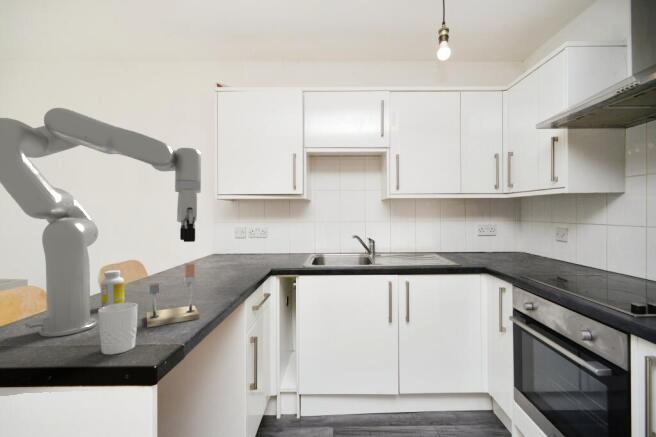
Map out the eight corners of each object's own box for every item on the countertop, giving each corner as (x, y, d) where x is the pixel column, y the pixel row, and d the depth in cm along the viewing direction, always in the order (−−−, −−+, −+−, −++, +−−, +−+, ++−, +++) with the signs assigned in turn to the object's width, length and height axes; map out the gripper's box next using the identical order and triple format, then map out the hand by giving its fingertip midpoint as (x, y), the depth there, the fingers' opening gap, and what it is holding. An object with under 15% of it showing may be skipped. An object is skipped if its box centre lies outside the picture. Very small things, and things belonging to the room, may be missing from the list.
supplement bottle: (126, 304, 114) (126, 269, 114) (121, 309, 107) (120, 272, 107) (105, 306, 112) (104, 270, 112) (98, 311, 105) (97, 273, 105)
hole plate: (147, 327, 89) (147, 321, 89) (146, 316, 99) (146, 311, 99) (199, 318, 96) (199, 313, 96) (194, 309, 106) (194, 304, 106)
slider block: (185, 311, 98) (185, 264, 98) (184, 308, 101) (183, 263, 101) (195, 309, 99) (195, 264, 99) (194, 306, 102) (193, 262, 102)
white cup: (124, 340, 80) (123, 301, 80) (145, 344, 77) (145, 304, 77) (90, 352, 72) (90, 310, 72) (113, 358, 69) (112, 313, 69)
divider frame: (150, 316, 92) (149, 285, 92) (149, 314, 95) (149, 283, 95) (197, 309, 99) (197, 280, 99) (196, 307, 102) (195, 279, 102)
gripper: (172, 188, 106) (172, 239, 105) (177, 184, 91) (177, 242, 91) (196, 190, 109) (195, 238, 109) (205, 185, 95) (204, 242, 94)
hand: (187, 240), depth 100 cm, fingers open, 9 cm apart
